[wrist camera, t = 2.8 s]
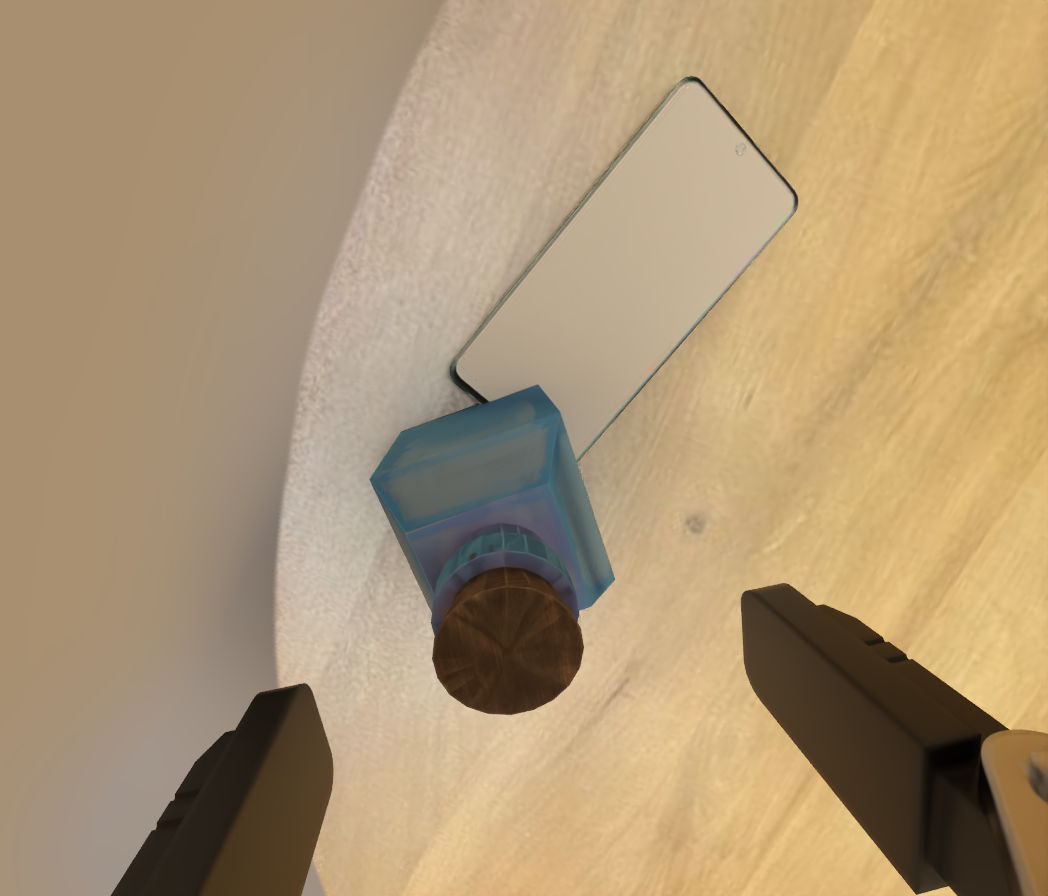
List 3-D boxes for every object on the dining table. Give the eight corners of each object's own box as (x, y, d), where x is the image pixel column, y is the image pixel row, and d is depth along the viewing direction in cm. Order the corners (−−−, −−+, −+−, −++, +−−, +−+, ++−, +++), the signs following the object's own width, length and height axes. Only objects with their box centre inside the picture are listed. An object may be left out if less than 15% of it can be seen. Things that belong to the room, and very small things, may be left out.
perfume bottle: (579, 508, 22) (683, 715, 11) (453, 553, 23) (425, 804, 11) (537, 383, 21) (608, 471, 9) (401, 431, 21) (302, 579, 9)
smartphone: (442, 373, 20) (691, 67, 18) (443, 372, 20) (685, 74, 19) (567, 475, 22) (805, 202, 20) (565, 471, 22) (796, 205, 20)
